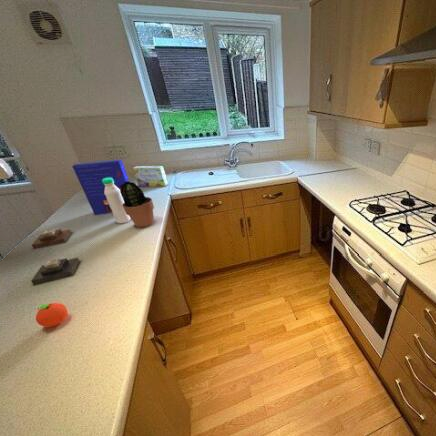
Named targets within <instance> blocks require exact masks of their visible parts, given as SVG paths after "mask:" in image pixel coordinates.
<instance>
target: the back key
mask: <svg viewBox="0 0 436 436" xmlns="http://www.w3.org/2000/svg"><path fill="white" fill-rule="evenodd" d="M56 230H57V229H55V228H51V229H46V230H45V231H43V233H42V234H43V236H50V235H54V234H55V233H56Z"/></svg>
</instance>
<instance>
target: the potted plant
mask: <svg viewBox="0 0 436 436" xmlns="http://www.w3.org/2000/svg"><path fill="white" fill-rule="evenodd" d="M121 195H122V197H123V200H124V203H123V208H124V210H125V212H126V214H127V215H129V216H130V218H131V219H130V220H131V221H132V222H133V224H134V225H135V227H136V228H146V227H149V226H152V225H153V224H154V223H155V220H154V219H155V218H154V216H155V215H154V208H155V206H154V202H153V198H152V197H149V196H145V193H144V191H143V189H142V188H140V186H139V185H138V184H136V182H133V181H132V182H131V181H129V182H128V181H127V182H125V183H124V184H123V185H121Z"/></svg>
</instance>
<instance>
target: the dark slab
mask: <svg viewBox="0 0 436 436" xmlns="http://www.w3.org/2000/svg"><path fill="white" fill-rule="evenodd" d="M60 260H61V263H60V265H59V266H58V267H54V268H49V269H46V268H45V265H46V263H45V264H43V265H41V266H40V268H39V269H38V271H37V272H36V273H35V274H34V276H33V277H32V279H31V280H30V282H31V283H32V284H33V286H37V285H39V284H44V283H48V282H52V281H57V280H60V279H65V278H69V277H72V276H74V274H75V272H76V270H77V269H78V267H79V265H80V263H81V261H80V258H79V257H74V258H70V259H69V258H67V257H65V258H60Z"/></svg>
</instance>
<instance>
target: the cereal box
mask: <svg viewBox="0 0 436 436" xmlns="http://www.w3.org/2000/svg"><path fill="white" fill-rule="evenodd" d="M72 169H73V171H74V173H75V175H76V178H77V179H78V182H79V184H80V186H81V189H82V191H83V193H84V195H85V197H86V199H87V201H88V203H89V206H90V208H91V210H92V212H93V214H94V216H96V215H97V216H98V215H103V214H111V213H113V212H112V210H111V208H110V205H109V203H108V201H107V198H106V195H105V194H104V190H105V185H104V184H103V182H102V179H104V178H113V180H114V185H116V186H117V187H118V188H119V189H120V193H121V185H123V184H124V183H125V182H127V181H128V182H130V180H129V177H128V174H127V171H126V168H125V166H124V163H123V160H122V159H121V158H120V159H111V160H109V159H108V160H99V161H89V162H79V163H75V164H73V165H72Z"/></svg>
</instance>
